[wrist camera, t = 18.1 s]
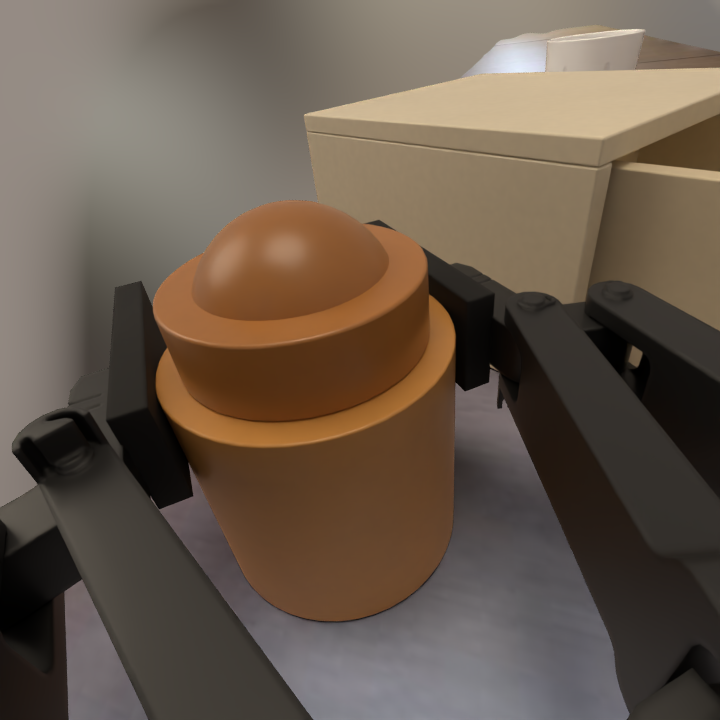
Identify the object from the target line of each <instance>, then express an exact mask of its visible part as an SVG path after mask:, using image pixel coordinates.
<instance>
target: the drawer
mask: <svg viewBox="0 0 720 720" xmlns="http://www.w3.org/2000/svg"><path fill="white" fill-rule="evenodd" d="M611 163H612V168H611V173H610V178H609V183H608V188H607V193H606V198H605V203H604V208H603V213H602V218H601V223H600V228H599V233H598V238H597V243H596V248H595V253H594V258H593V263H592V268H591V273H590V278H589V283H588V288H587V292H588V289H589V288H590V286H591V285H593V284H596V283H598V282H604V281H609V280H614V281H615V280H617V281H623V282H625V283H630V284H633V285H635V286H638V287H640V288H642V289H644V290H646V291H648V292H649V293H651V294H653V295H655V296H657V297H659V298H660V299H662V300H664V301H666V302H668V303H669V304H671V305H673V306H675V307H677V308H679V309H680V310H682V311H684V312H686V313H688V314H690V315H691V316H693V317H695V318H697V319H699V320H701V321H702V322H704V323H706V324H708V325H710V326H712V327H713V328H715V329H717V330H719V331H720V114H718V115H715V116H713V117H711V118H709V119H706V120H704V121H702V122H700V123H697V124H695V125H693V126H691V127H688V128H686V129H684V130H681V131H679V132H677V133H675V134H672V135H670V136H668V137H666V138H663V139H661V140H659V141H657V142H654V143H652V144H650V145H648V146H645V147H643V148H641V149H639V150H636V151H634V152H632V153H629V154H627V155H625V156H623V157H620V158H618V159H616V160H614V161H611ZM586 297H587V293H586ZM585 302H586V298H585ZM642 353H643V352H641V351H640V350H638V349H637V348H636V347H634V346H633V347H632V351H631V354H630V358H629V361H628V362H630V363H631V364H632V365H634V366H636V367H638V365H639V363H640V360H641V357H642Z"/></svg>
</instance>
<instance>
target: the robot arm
mask: <svg viewBox="0 0 720 720" xmlns="http://www.w3.org/2000/svg"><path fill="white" fill-rule="evenodd" d="M364 224H370V225H375V226H381V227H385V228H388V229H392V230H395V229H393V228H392V227H390V226H388V225H387V224H385V223H384V222H382V221H381V220H376V221H372V222H368V223H364ZM395 231H396V230H395ZM397 232H398V231H397ZM419 246H420V245H419ZM420 247H421V246H420ZM421 248H422V249H423V251H424V253H425V255H426V257H427V262H428V285H429V294H430V295H431V296H433V297H434V298H435V299H436V300H437V301H438V302H439V303H440V304H442V306H443V307H444V308H445V310H446V311H447V312H448V314H449V316H450V318H451V320H452V322H453V324H454V328H455V333H456V369H455V382H456V383H457V384H458V385H459V386H460V387H461V388H462V389H463V390H464V391H467V390H470V389H473V388H475V387H478V386H480V385H483V384H486V383H488V382H489V373H490V364H491V365H492V366H493V367H494V368H495V369H497V370H498V371H499V372H500V374H499V386H498V397H497V407H498V409H499V408H502V401H503V400H504V399H505V401H506V403H507V405H508V406H507V407H508V408H509V410H510V412H511V414H512V417H513V419H514V421H515V423H516V426H517V428H518V430H519V432H520V435H521V437H522V439H523V441H524V444H525V446H526V448H527V450H528V453H529V455H530V457H531V460H532V462H533V464H534V466H535V469H536V471H537V473H538V475H539V478H540V480H541V482H542V484H543V487H544V489H545V491H546V493H547V496H548V498H549V500H550V502H551V505H552V507H553V509H554V512H555V514H556V516H557V518H558V521H559V523H560V525H561V527H562V530H563V532H564V534H565V536H566V539H567V541H568V543H569V545H570V548H571V550H572V552H573V554H574V557H575V559H576V561H577V564H578V566H579V568H580V570H581V573H582V575H583V577H584V579H585V582H586V584H587V586H588V588H589V591H590V593H591V595H592V597H593V600H594V602H595V604H596V606H597V609H598V611H599V613H600V616H601V618H602V620H603V622H604V625H605V627H606V629H607V631H608V634H609V636H610V639H611V642H612V646H613V650H614V657H615V667H616V674H617V678H618V682H619V687H620V690H621V692H622V695H623V698H624V701H625V703H626V706H627V708H628V711H629V713H630V715H629V717H628V718H627V720H720V331H719V330H717V329H715V328H713V327H712V326H710V325H708V324H706V323H704V322H702V321H701V320H699V319H697V318H695V317H693V316H691V315H690V314H688V313H686V312H684V311H682V310H680V309H679V308H677V307H675V306H673V305H671V304H669V303H668V302H666V301H664V300H662V299H660V298H659V297H657V296H655V295H653V294H651V293H649V292H648V291H646V290H644V289H642V288H640V287H638V286H635V285H633V284H630V283H625V282H623V281H617V280H615V281H614V280H609V281H604V282H598V283H596V284H593V285H591V286H590V288H589V289H588V292H587V297H586V302H578V303H570V304H562V303H561V302H560V301H559V300H558V299H556V298H555V297H554V296H551V295H549V294H546V293H541V292H521V293H515V292H513V291H511V290H510V289H508V288H506V287H505V286H503V285H501V284H500V283H498V282H496V281H495V280H491V278H490V277H488V276H486V275H485V274H484V275H483V274H482V273H481V272H480V271H478V270H476V269H475V268H473V267H471V266H467V265H464V264H460V263H453V264H448V263H447V262H445V261H443V260H442V259H440V258H439V257H437V256H436V255H434V254H432V253H431V252H429V251H428V250H426V249H425V248H423V247H421ZM633 346H634V347H636V348H637V349H638V350H640V351H641V352H643V353H642V357H641V360H640V363H639V365H638V367H636V366H634V365H632V364H631V363H630V362H628V361H629V358H630V354H631V351H632V347H633ZM166 349H167V346H166V343H165V341H164V339H163V337H162V334H161V332H160V330H159V327H158V325H157V323H156V321H155V318H154V314H153V307H152V305H151V302H150V300H149V298H148V295H147V293H146V291H145V288H144V286H143V284H142V282H141V281H139V282H135V283H132V284H127V285H124V286H120V287H116V288H115V296H114V309H113V324H112V339H111V352H110V367H109V368H107V369H104V370H101V371H97V372H94V373H91V374H88V375H84V376H81V378H80V379H79V380H78V382H77V383H76V384H75V385H74V387H73V388H72V389H71V391H70V397H69V402H68V404H69V406H68V407H67V408H62V409H57V410H55V411H52V412H50V413H47V414H45V415H43V416H41V417H39V418H38V419H36V420H34V421H33V422H31V423H30V424H28V425H27V426H26V427H25V428H24V429H23V430H22V431H21V432H19V433H18V435H17V436H16V438H15V440H14V441H13V443H12V452H13V454H14V455H15V456H16V458H17V459H18V460H19V461H20V463H21V464H22V465H23V466H24V467H25V469H26V470H27V471H28V472H29V474H30V475H31V476H32V477H33V479H34V480H35V481H36V482H37V484H38V485H37V486H35V487H34V488H33V489H31V490H30V491H28V492H26V493H25V494H23V495H22V496H20V497H18V498H16V499H15V500H13V501H11V502H9V503H8V504H6V505H4V506H2V507H1V508H0V720H69V718H68V688H67V659H66V630H65V601H64V591H65V590H67V589H68V588H70V587H71V586H73V585H74V584H76V583H77V582H79V581H80V580H81V579H83V581H84V584H85V586H86V588H87V590H88V592H89V594H90V596H91V598H92V601H93V603H94V605H95V607H96V609H97V611H98V613H99V615H100V617H101V620H102V622H103V624H104V626H105V628H106V630H107V632H108V634H109V637H110V639H111V641H112V643H113V645H114V647H115V649H116V651H117V654H118V656H119V658H120V660H121V662H122V664H123V666H124V668H125V670H126V673H127V675H128V677H129V679H130V681H131V683H132V685H133V687H134V690H135V692H136V694H137V696H138V698H139V700H140V702H141V704H142V707H143V709H144V711H145V713H146V715H147V717H148V719H149V720H313V719H312V718H311V716H310V715H309V713H308V712H307V711H306V709H305V708H304V707H303V705H302V704H301V703H300V701H299V700H298V699H297V697H296V696H295V694H294V693H293V692H292V690H291V689H290V688H289V686H288V685H287V684H286V682H285V681H284V680H283V678H282V677H281V676H280V674H279V673H278V671H277V670H276V669H275V667H274V666H273V665H272V663H271V662H270V661H269V659H268V658H267V657H266V655H265V654H264V652H263V651H262V650H261V648H260V647H259V646H258V644H257V643H256V642H255V640H254V639H253V638H252V636H251V635H250V633H249V632H248V631H247V629H246V628H245V627H244V625H243V624H242V623H241V621H240V620H239V619H238V617H237V616H236V614H235V613H234V612H233V610H232V609H231V608H230V606H229V605H228V604H227V602H226V601H225V600H224V598H223V597H222V595H221V594H220V593H219V591H218V590H217V589H216V587H215V586H214V585H213V583H212V582H211V581H210V579H209V578H208V576H207V575H206V574H205V572H204V571H203V570H202V568H201V567H200V566H199V564H198V563H197V562H196V560H195V559H194V557H193V556H192V555H191V553H190V552H189V551H188V549H187V548H186V547H185V545H184V544H183V543H182V541H181V540H180V538H179V537H178V536H177V534H176V533H175V532H174V530H173V529H172V528H171V526H170V525H169V524H168V522H167V521H166V519H165V518H164V517H163V515H162V514H161V513H160V511H159V510H158V509H157V507H158V508H159V509H161V508H164V507H166V506H169V505H172V504H174V503H177V502H179V501H182V500H185V499H187V498H190V497H192V496H193V491H192V484H191V477H190V471H189V464H188V460H187V458H186V456H185V454H184V452H183V450H182V448H181V446H180V444H179V442H178V440H177V438H176V436H175V433H174V431H173V429H172V427H171V425H170V423H169V421H168V419H167V417H166V415H165V413H164V411H163V409H162V407H161V405H160V403H159V401H158V399H157V394H156V388H155V379H156V371H157V368H158V364H159V361H160V359H161V357H162V355H163V353H164V351H165V350H166ZM150 495H151V497H152V499H153V500H154V502H155V504H156V505H157V507H156V506H155V505H154V503H153V502H152V500H151V497H150Z"/></svg>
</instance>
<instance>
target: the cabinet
mask: <svg viewBox="0 0 720 720" xmlns="http://www.w3.org/2000/svg"><path fill="white" fill-rule="evenodd" d="M718 114H720V68H693V69H653V70H613V71H573V72H534V73H494V74H479V75H474V76H470V77H466V78H461V79H457V80H452V81H448V82H444V83H439V84H435V85H431V86H427V87H422V88H417V89H413V90H409V91H404V92H400V93H395V94H391V95H387V96H382V97H378V98H373V99H369V100H365V101H361V102H356V103H351V104H347V105H343V106H338V107H334V108H330V109H325V110H321V111H317V112H312V113H308V114H305V115H304V120H305V126H306V130H307V131H308V132H307V138H308V144H309V150H310V156H311V162H312V167H313V174H314V180H315V186H316V192H317V199H318V203H320V204H324V205H328V206H331V207H333V208H336V209H338V210H340V211H343V212H345V213H346V214H348V215H350V216H351V217H353V218H354V219H356V220H358V221H359V222H360V223H361V224H364V223H368V222H372V221H376V220H381V221H382V222H384V223H385V224H387V225H388V226H390V227H392V228H393V229H395V230H396V231H398V232H400V233H402V234H404V235H406V236H408V237H410V238H411V239H413V240H414V241H415V242H417V243H418V245H420V246H421V247H423V248H425V249H426V250H428V251H429V252H431V253H432V254H434V255H436V256H437V257H439V258H440V259H442V260H443V261H445V262H447V263H448V264H453V263H460V264H464V265H467V266H471V267H473V268H475V269H476V270H478V271H480V272H481V273H482V274H483V275H484V274H485V275H486V276H488V277H490V278H491V280H495V281H496V282H498V283H500V284H501V285H503V286H505V287H506V288H508V289H510V290H511V291H513V292H515V293H521V292H541V293H546V294H549V295H551V296H554V297H555V298H556V299H558V300H559V301H560V302H561V303H562V304H570V303H578V302H585V298H586V293H587V288H588V283H589V278H590V273H591V268H592V263H593V258H594V253H595V248H596V243H597V238H598V233H599V228H600V223H601V218H602V213H603V208H604V203H605V198H606V193H607V188H608V183H609V178H610V173H611V168H612V163H611V161H614V160H616V159H618V158H620V157H623V156H625V155H627V154H629V153H632V152H634V151H636V150H639V149H641V148H643V147H645V146H648V145H650V144H652V143H654V142H657V141H659V140H661V139H663V138H666V137H668V136H670V135H672V134H675V133H677V132H679V131H681V130H684V129H686V128H688V127H691V126H693V125H695V124H697V123H700V122H702V121H704V120H706V119H709V118H711V117H713V116H715V115H718ZM490 367H491V368H493V369H495V368H494V367H493V366H492V365H491V364H490ZM495 370H497V369H495ZM497 371H498V370H497Z"/></svg>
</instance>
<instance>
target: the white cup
mask: <svg viewBox="0 0 720 720" xmlns="http://www.w3.org/2000/svg"><path fill="white" fill-rule="evenodd" d="M644 34H645V30H643V29H633V30H632V29H630V30H616V31H606V32H596V33H588V34H580V35H572V36H566V37H560V38H555V39H550V40H548V41H547V52H546V67H545V72H573V71H613V70H636V66H637V62H638V58H639V54H640V50H641V46H642V42H643V38H644Z"/></svg>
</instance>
